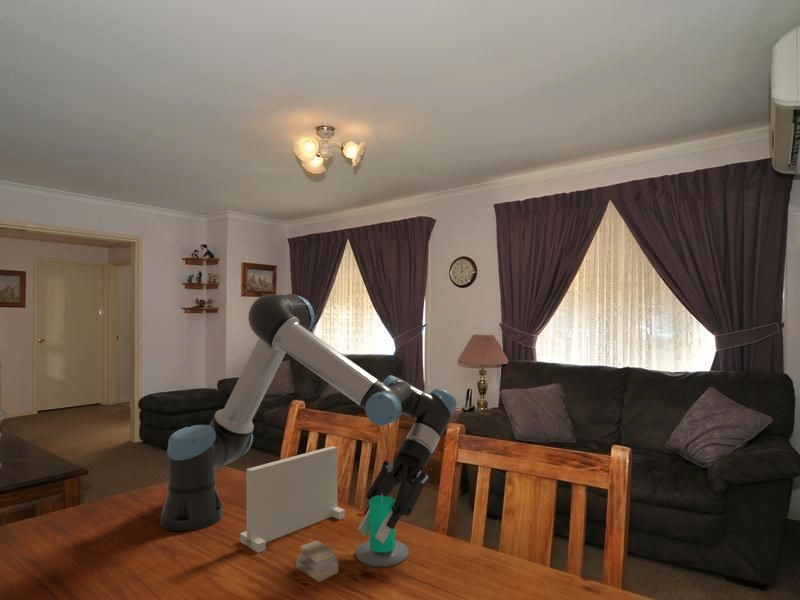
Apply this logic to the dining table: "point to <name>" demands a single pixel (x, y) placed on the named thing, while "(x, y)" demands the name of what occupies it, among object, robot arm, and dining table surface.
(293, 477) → the standing panel with feet
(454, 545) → the dining table surface
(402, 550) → the coaster
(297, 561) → the offcut stack
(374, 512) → the candle
